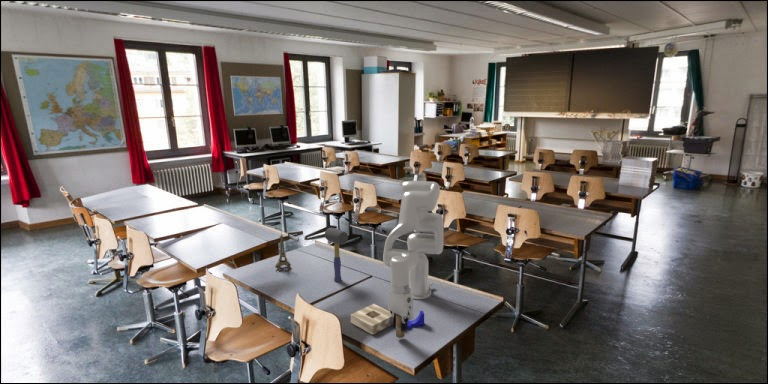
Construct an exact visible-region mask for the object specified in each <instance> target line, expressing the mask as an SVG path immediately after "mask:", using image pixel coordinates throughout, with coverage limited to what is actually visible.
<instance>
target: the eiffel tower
mask: <svg viewBox="0 0 768 384" xmlns="http://www.w3.org/2000/svg"><path fill="white" fill-rule="evenodd" d="M280 234H281V235H279V238H280V246H279V247H280V249H279V250H280V252H279V255H278V256H279V258H278V259H277V260H278V261H277V262H276V264H275V265H274V268H276V269H275V273H278V272H277V271H279V272H280V270H281V267H282V266H286V267H287V269H288V271H292V270H293V268H292V267H291V265H292V264H291V262H290V261H289V260H288V258H287V253H286V250H285V245H284V235H283V234H282V231H280Z"/></svg>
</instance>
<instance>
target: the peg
mask: <svg viewBox="0 0 768 384" xmlns="http://www.w3.org/2000/svg"><path fill="white" fill-rule="evenodd" d="M401 323H402V317H401V316H400V315H398V314H396V327H395V337H396V338H398V339H401V338H405V335H406V334H405V333H406V330H405V331H404V332H401Z"/></svg>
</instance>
